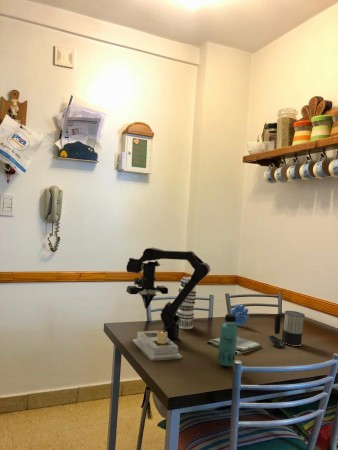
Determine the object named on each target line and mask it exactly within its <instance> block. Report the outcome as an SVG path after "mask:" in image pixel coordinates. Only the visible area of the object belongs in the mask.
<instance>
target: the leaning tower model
mask: <svg viewBox="0 0 338 450" xmlns="http://www.w3.org/2000/svg"><path fill="white" fill-rule="evenodd" d="M191 277H192V276H191ZM191 277H190V276H183V277H182V278H181V279H180V286H179V287H178V295H179V293H180V292H181V291H182V289H183V288H184V287H185V285H186V284H187V283H188V282H189V280H190V279H191ZM196 289H197V288H196V286H195V287H194V289H193V290H192V291H191V293H190V294H189V295H188V296H187V298H186V299H185V300H184V302H183V303H182V304H181V306H180V308H179V310H178V312H177V314H176V315H177V316H178V317H179V318H180V321H179V323H178V325H179V329H183V330H190V329H193V327H194V326H193V325H194V316H195V313H194V312H195V311H194V306H195V304H196V302H195V301H196V298H195V297H197V295H196V294H197V292H196ZM178 295H177V296H178Z"/></svg>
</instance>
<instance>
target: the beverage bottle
mask: <svg viewBox="0 0 338 450" xmlns="http://www.w3.org/2000/svg"><path fill="white" fill-rule="evenodd" d="M224 317H225V318H224V321H226V322H223V323H222V324H221V328H220V337H219V338H220V343H219V344H220V345H219V348H218V352H217V362H218V364H220V365H222V366H227V367H231V366H234V364H235V363H234V362H235V360H236V355H237V354H236V352H235V350H236V339H237V337H238V329H239V326H237V324H234V323H232V322H235V321H236V316H235V315H232V313H227V314H225V316H224ZM233 363H234V364H233Z"/></svg>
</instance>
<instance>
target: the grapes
mask: <svg viewBox="0 0 338 450" xmlns="http://www.w3.org/2000/svg"><path fill="white" fill-rule="evenodd" d="M248 313H249V309H248V308H246V307H245V305H244V304H240V305H239V304H236V305H234V307H233V308H232V309H231V310H230V314H232V315H235V316H236V321H235V322H231V323H234V324H235V325H236V326H237V327H241V326H242V325H245V324H247V320H248V319H249V318H250V315H249V314H248Z"/></svg>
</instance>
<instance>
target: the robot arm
mask: <svg viewBox="0 0 338 450" xmlns="http://www.w3.org/2000/svg"><path fill="white" fill-rule="evenodd" d="M158 260H180V261H188V264H189V265H190V266H191V267H192V268H193V273H192V274H191V279H190V280H189V282H188V283H187V284H186V285H185V287H184V288H183V289H182V291H181V292H178V294H179V295H177V296H176V297H175V299H174V300H173V301H172V302H171V301H168V302H166V304H165V305H164V307H163V308H162V309H161V310H160V319H161V321H162V322H163V323H162V324H163V327H162V330H164V331H167V332H168V333H167V338H168V339H170V340H171V341H180V337H179V331H180V328H179V325H178V323H179V321H180V318H179V317H178V316H177V315H178V314H177V312H178V310H179V308H180V306H181V304H182V303H183V302H184V300H185V299H186V298H187V296H188V295H189V294H190V293H191V291H192V290H193V289H194V287H196V286H197V285H198V284H199V282H201V281H202V280H203V279H204V278H205V277H206V276H207V275H209V274H210V272H211V267H210V265H209V264H208V263H207V262H204V261H203V260H202V259H201V258H200V257H199V256H198V255H196V253H195V252H194V251H192V250H189V251H183V250H182V251H181V250H163V249H162V248H161V249H160V248H158V247H157V248H156V247H147V248H146V249H144V250H143V252H142V255H141V256H140V258H134V257H129V258H128V261H127V264H126V268H125V269H126V272H127V273H132V274H138V275H139V274H141V273H142V275H141V277H134V279H133V284H134V285H127V286H126V292H127V294H129V295H137V294H138V295H139V296H141V298H142V303H143V305H144V309H148V308H149V307H150V305H151V302H152V301H153V300H154V298H155V297H156V296H157V294H156V293H157V292H158V293H159V292H160V293H161V294H162V295H167V294H169V288H168V287H167V286H165V285H157V286H155V281H156V279H157V278H156V267H160V266H161V264H160V263H159V262H158Z"/></svg>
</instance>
